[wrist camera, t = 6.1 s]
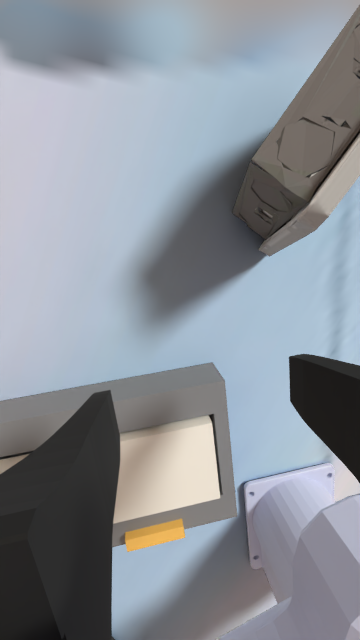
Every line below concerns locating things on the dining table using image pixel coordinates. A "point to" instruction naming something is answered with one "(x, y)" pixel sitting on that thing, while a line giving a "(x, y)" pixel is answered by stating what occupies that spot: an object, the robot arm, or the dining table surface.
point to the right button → (166, 468)
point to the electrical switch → (308, 151)
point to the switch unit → (136, 413)
